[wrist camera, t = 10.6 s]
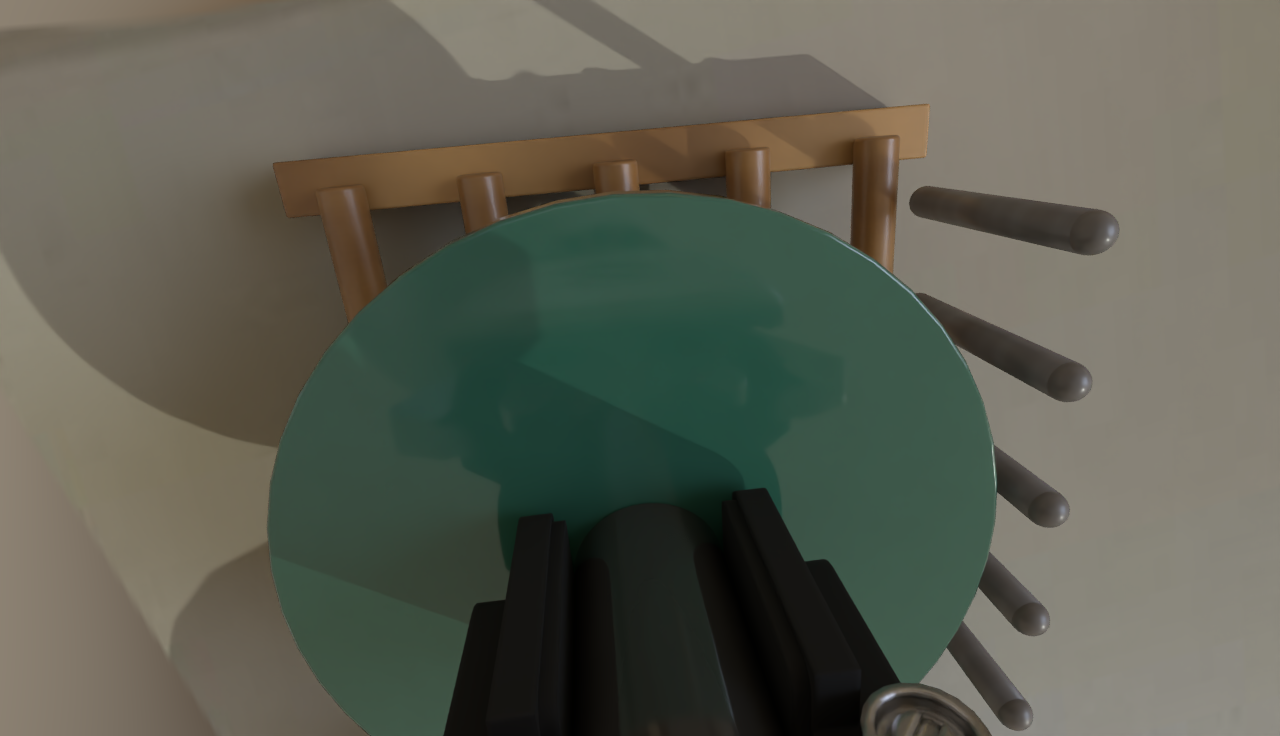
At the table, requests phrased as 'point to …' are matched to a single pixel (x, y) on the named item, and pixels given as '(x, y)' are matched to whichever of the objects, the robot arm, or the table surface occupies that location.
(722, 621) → the lid
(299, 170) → the dish rack
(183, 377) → the table surface
